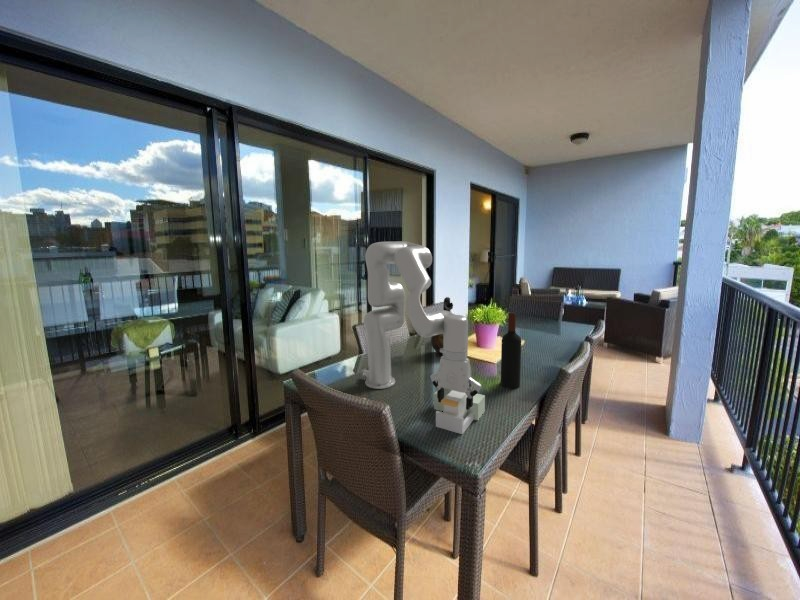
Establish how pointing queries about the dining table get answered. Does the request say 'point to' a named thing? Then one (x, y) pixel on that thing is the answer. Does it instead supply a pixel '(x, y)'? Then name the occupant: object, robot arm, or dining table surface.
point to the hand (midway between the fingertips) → (454, 404)
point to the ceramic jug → (438, 340)
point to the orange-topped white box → (455, 404)
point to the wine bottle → (511, 355)
